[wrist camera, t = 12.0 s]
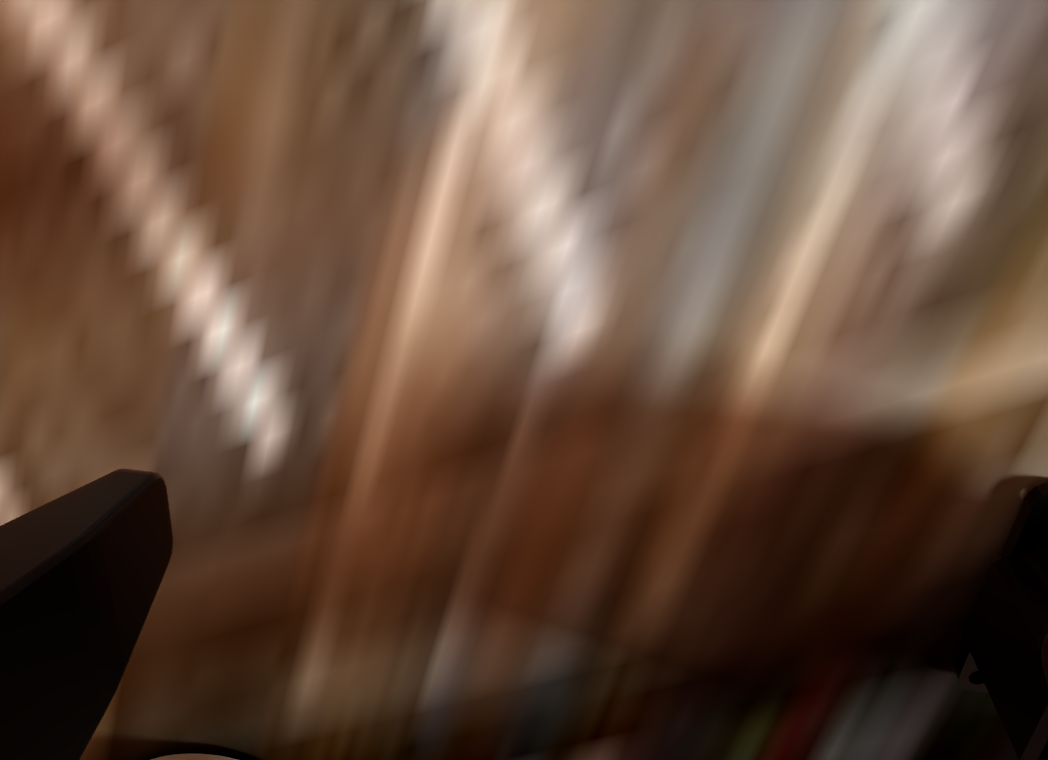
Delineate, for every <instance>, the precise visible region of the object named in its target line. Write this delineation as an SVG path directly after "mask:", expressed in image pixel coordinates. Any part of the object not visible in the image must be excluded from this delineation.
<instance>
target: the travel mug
mask: <svg viewBox="0 0 1048 760" xmlns="http://www.w3.org/2000/svg"><path fill="white" fill-rule="evenodd" d="M151 760H238V759H234V758H229V757H224V756H218V755H209V754H175V755H168V756H162V757H158V758H154V759H151Z"/></svg>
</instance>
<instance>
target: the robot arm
mask: <svg viewBox="0 0 1048 760" xmlns="http://www.w3.org/2000/svg"><path fill="white" fill-rule="evenodd" d="M1047 503H1048V483H1044V484H1041V485H1038V486H1036V487H1035V488H1033V489H1032V490H1030V491H1029V493H1028V494H1027V495H1026V497H1025V499H1024V501H1023V504H1022V506H1021V508H1020V511H1019V513H1018V515H1017V518H1016V520H1015V523H1014V525H1013V527H1012V530H1011V532H1010V534H1009V537H1008V539H1007V542H1006V544H1005V546H1004V549H1003V551H1002V553H1001V556H1000V557H999V558H998V559H997V560H996V561H995V562H994V563H993V564H992V565H991V568H990V570H989V573H988V575H987V577H986V580H985V582H984V585H983V587H982V589H981V592H980V594H979V597H978V599H977V601H976V604H975V606H974V608H973V611H972V613H971V616H970V618H969V620H968V623H967V625H966V628H965V630H964V632H963V637H964V640H965V641H964V643H963V646H962V648H961V651H960V653H959V655H958V658H957V660H956V662H955V667H954V670H955V672H956V675H957V677H958V679H959V682H960V684H961V686H963V687H964V688H965V689H968V690H971V691H978V692H986V693H989V694H990V697H991V699H992V701H993V703H994V705H995V708H996V710H997V712H998V714H999V716H1000V719H1001V721H1002V723H1003V725H1004V727H1005V729H1006V732H1007V734H1008V736H1009V738H1010V740H1011V743H1012V745H1013V747H1014V749H1015V751H1016V753H1017V756H1018V757H1019V759H1020V760H1048V508H1045V509H1042V508H1043V507H1044V506H1045V504H1047ZM172 548H173V533H172V526H171V518H170V510H169V503H168V495H167V488H166V484H165V481H164V479H163V477H162V476H161V475H159V474H158V473H156V472H150V471H141V470H133V469H118V470H116V471H114V472H111V473H109V474H107V475H105V476H103V477H101V478H99V479H97V480H95V481H93V482H91V483H89V484H87V485H84V486H82V487H80V488H78V489H76V490H74V491H72V492H70V493H68V494H66V495H64V496H62V497H60V498H58V499H55V500H53V501H51V502H49V503H47V504H45V505H43V506H41V507H39V508H37V509H35V510H33V511H31V512H28V513H26V514H24V515H22V516H20V517H18V518H16V519H14V520H12V521H10V522H8V523H6V524H4V525H1V526H0V760H79V759H80V757H81V756H82V754H83V752H84V750H85V748H86V746H87V745H88V743H89V741H90V739H91V737H92V735H93V734H94V732H95V730H96V728H97V726H98V725H99V723H100V721H101V719H102V717H103V715H104V713H105V711H106V710H107V708H108V706H109V704H110V702H111V700H112V698H113V696H114V694H115V692H116V690H117V687H118V685H119V683H120V681H121V678H122V676H123V674H124V672H125V669H126V667H127V664H128V662H129V659H130V657H131V654H132V652H133V650H134V647H135V645H136V642H137V640H138V637H139V635H140V632H141V630H142V627H143V625H144V623H145V620H146V618H147V615H148V613H149V610H150V608H151V605H152V603H153V601H154V598H155V596H156V593H157V591H158V588H159V586H160V583H161V581H162V578H163V576H164V574H165V571H166V569H167V566H168V564H169V561H170V558H171V554H172ZM975 671H979V672H977V673H973V672H975Z"/></svg>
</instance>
